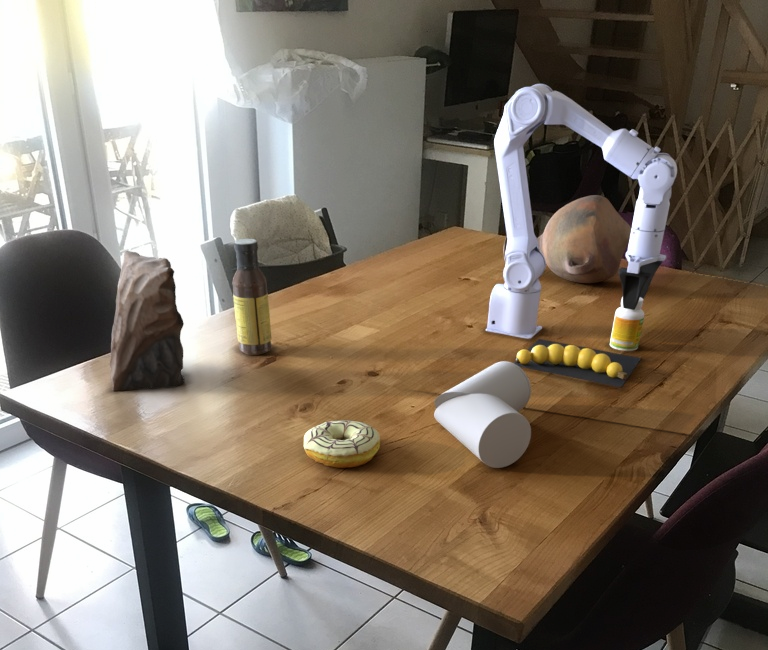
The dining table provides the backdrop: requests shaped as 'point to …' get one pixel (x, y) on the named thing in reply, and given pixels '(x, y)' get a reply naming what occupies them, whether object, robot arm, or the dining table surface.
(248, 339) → the sauce bottle
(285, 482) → the dining table surface
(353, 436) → the decorated donut
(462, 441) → the bent grey cylinder
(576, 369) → the placemat
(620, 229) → the jug
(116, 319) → the brown rock
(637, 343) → the supplement bottle
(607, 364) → the yellow lumpy bar
